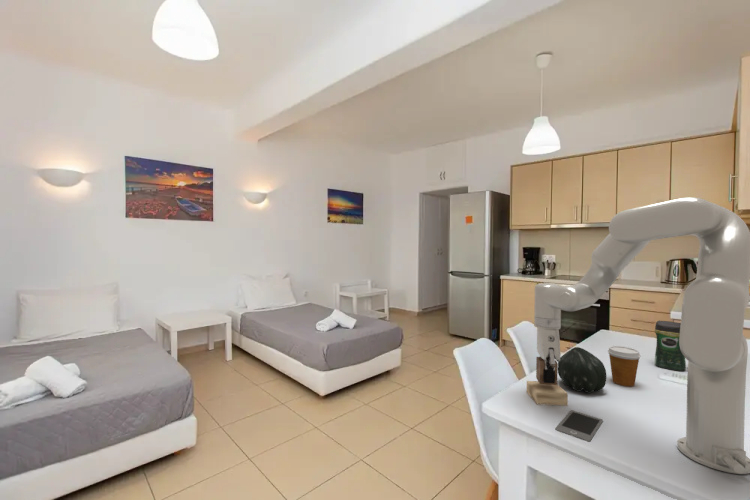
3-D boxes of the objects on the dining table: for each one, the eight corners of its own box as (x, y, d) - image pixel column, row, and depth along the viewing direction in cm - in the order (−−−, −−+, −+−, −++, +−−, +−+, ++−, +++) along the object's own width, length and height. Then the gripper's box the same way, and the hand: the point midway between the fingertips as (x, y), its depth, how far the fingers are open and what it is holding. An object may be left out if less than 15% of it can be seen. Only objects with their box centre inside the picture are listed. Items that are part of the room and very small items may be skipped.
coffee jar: (686, 367, 138) (687, 322, 138) (685, 373, 132) (686, 325, 132) (655, 362, 145) (656, 318, 145) (653, 366, 139) (653, 321, 139)
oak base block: (567, 406, 105) (567, 393, 105) (537, 405, 106) (537, 392, 106) (554, 393, 114) (554, 381, 114) (526, 392, 115) (526, 380, 114)
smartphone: (570, 411, 102) (570, 409, 102) (603, 421, 96) (603, 419, 96) (554, 431, 91) (554, 428, 91) (589, 443, 85) (589, 440, 85)
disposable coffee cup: (646, 389, 117) (646, 354, 116) (614, 387, 119) (615, 352, 118) (631, 379, 126) (631, 346, 126) (602, 377, 128) (602, 345, 128)
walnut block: (557, 385, 107) (557, 363, 106) (539, 383, 108) (540, 361, 108) (552, 379, 111) (553, 357, 111) (536, 377, 113) (536, 356, 112)
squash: (606, 367, 123) (575, 334, 125) (624, 385, 108) (589, 347, 110) (572, 389, 126) (543, 357, 128) (585, 410, 112) (552, 373, 114)
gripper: (568, 329, 100) (568, 391, 100) (552, 317, 117) (552, 370, 117) (541, 327, 102) (540, 388, 102) (529, 316, 118) (528, 368, 119)
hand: (546, 378), depth 110 cm, fingers closed on walnut block, 4 cm apart
